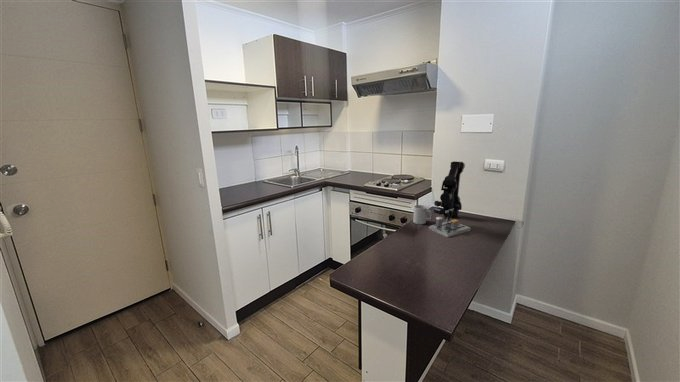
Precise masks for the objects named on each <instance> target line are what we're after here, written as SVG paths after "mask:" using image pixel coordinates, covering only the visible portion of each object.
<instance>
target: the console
mask: <svg viewBox="0 0 680 382" xmlns="http://www.w3.org/2000/svg"><path fill="white" fill-rule="evenodd" d="M428 230H429V231H433V232H434V233H437V234H439V235H441V236H444V237H446V238H449V237H453V236H457V235H459V234H463V233H466V232H467V233H468V232H469V231H471V227H469V226H468V225H464V224H462V223H459V222H457V229H451V220H449V221H448V222H446V221H444V222H443V221H442V226H439V227H438V226H437V225H436V223H435V224H432V225H429V226H428Z"/></svg>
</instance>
